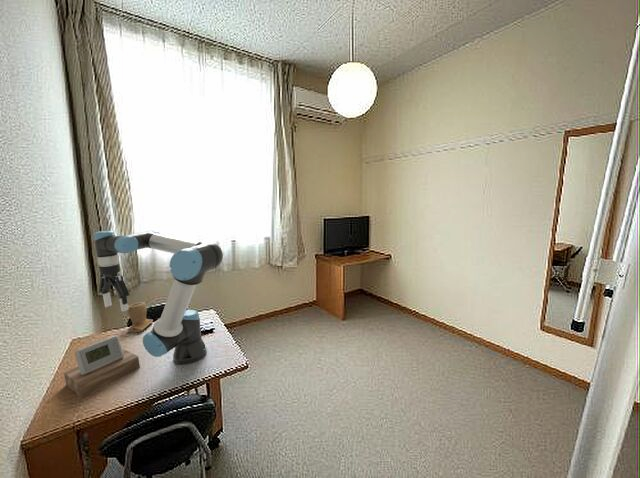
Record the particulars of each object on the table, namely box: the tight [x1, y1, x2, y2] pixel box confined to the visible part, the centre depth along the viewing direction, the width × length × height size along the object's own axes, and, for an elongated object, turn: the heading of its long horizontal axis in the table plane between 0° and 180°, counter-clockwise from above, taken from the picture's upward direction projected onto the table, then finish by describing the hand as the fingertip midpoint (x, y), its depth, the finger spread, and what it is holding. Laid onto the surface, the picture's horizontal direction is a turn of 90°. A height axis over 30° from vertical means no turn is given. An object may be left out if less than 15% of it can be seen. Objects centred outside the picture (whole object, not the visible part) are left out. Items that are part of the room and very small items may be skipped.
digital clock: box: [74, 334, 124, 375], centre depth 123 cm, size 16×9×11 cm, turn 135°
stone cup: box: [126, 301, 154, 333], centre depth 170 cm, size 15×12×15 cm
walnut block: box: [63, 347, 141, 399], centre depth 125 cm, size 16×22×6 cm
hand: (116, 308), depth 132 cm, fingers open, 13 cm apart
